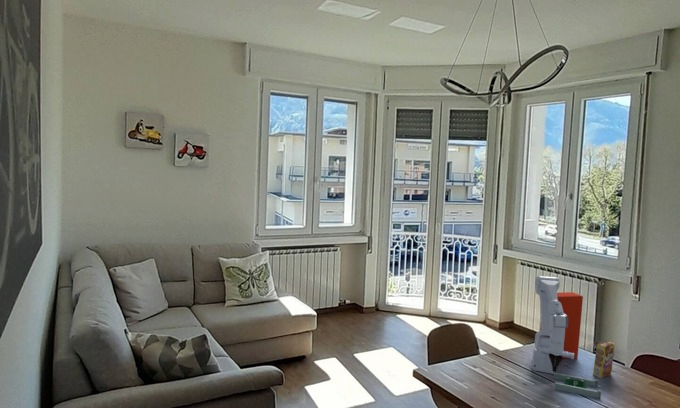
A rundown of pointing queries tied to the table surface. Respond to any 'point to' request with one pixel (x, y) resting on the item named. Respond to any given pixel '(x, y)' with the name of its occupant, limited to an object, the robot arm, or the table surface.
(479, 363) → the table surface
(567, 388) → the pair of grey bars
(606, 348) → the candy box
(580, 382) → the dark green curved piece
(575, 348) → the file binder
